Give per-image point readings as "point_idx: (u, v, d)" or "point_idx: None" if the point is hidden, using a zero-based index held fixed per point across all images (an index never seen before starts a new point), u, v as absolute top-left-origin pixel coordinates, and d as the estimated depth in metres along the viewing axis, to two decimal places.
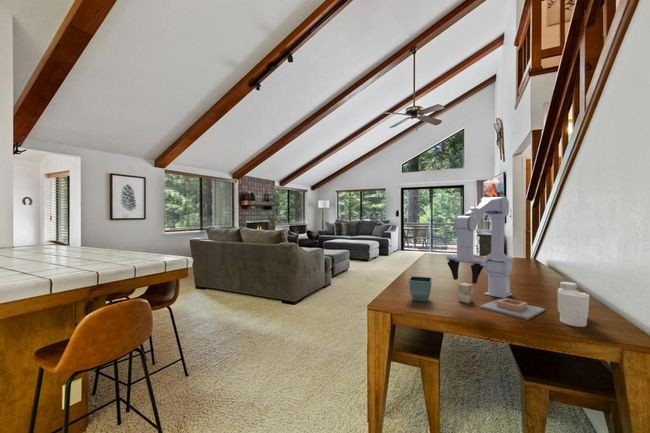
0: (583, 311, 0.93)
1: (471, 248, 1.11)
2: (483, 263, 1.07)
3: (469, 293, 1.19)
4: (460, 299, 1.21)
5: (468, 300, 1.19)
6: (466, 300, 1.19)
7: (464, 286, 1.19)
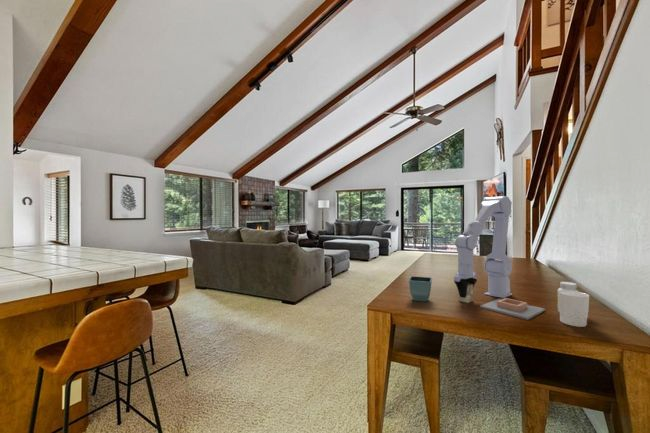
0: (583, 311, 0.93)
1: (460, 265, 1.20)
2: (455, 279, 1.17)
3: (469, 293, 1.19)
4: (460, 299, 1.21)
5: (468, 300, 1.19)
6: (466, 300, 1.19)
7: None
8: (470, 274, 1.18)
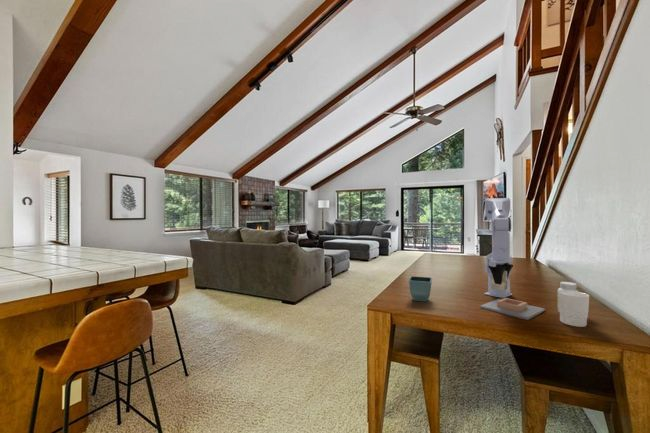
0: (583, 311, 0.93)
1: (496, 249, 1.12)
2: (490, 264, 1.09)
3: (504, 280, 1.11)
4: (494, 287, 1.13)
5: (503, 287, 1.11)
6: (501, 287, 1.11)
7: None
8: (506, 259, 1.10)
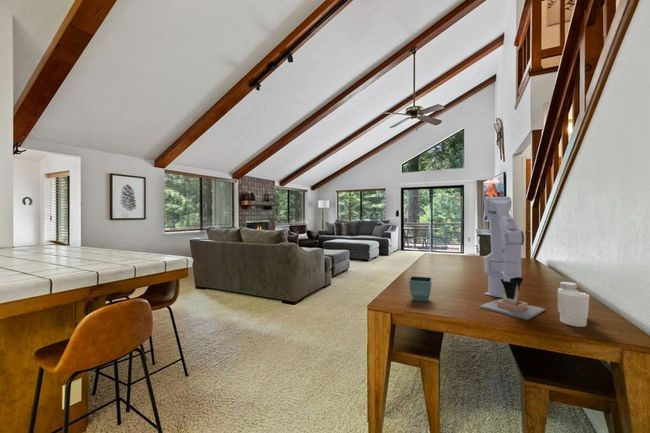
0: (583, 311, 0.93)
1: (508, 263, 1.09)
2: (505, 279, 1.06)
3: (516, 294, 1.09)
4: (505, 301, 1.10)
5: (515, 302, 1.09)
6: (513, 302, 1.08)
7: None
8: (519, 273, 1.08)
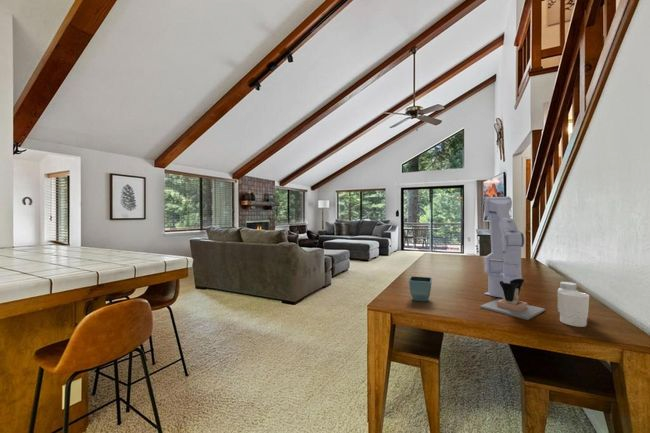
0: (583, 311, 0.93)
1: (508, 265, 1.09)
2: (505, 280, 1.06)
3: (516, 298, 1.09)
4: None
5: None
6: None
7: None
8: (519, 275, 1.08)
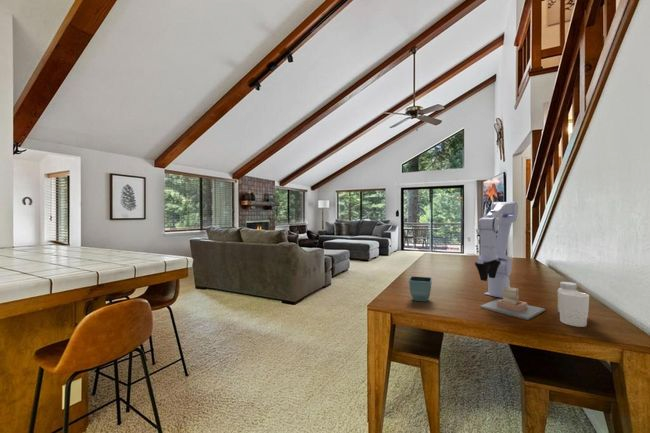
0: (583, 311, 0.93)
1: (483, 247, 1.19)
2: (478, 261, 1.16)
3: (516, 298, 1.09)
4: None
5: None
6: None
7: (511, 291, 1.09)
8: (493, 256, 1.17)
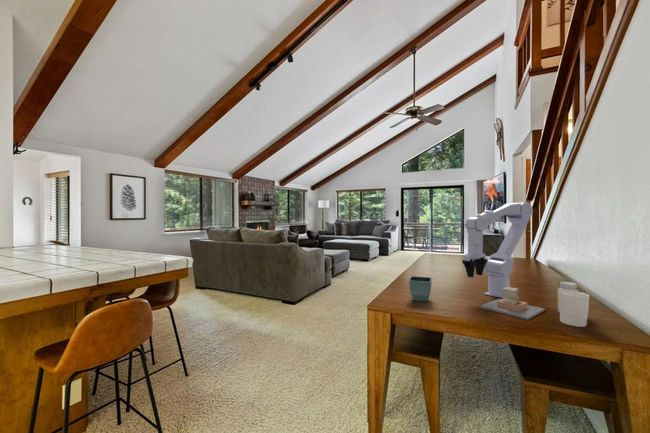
0: (583, 311, 0.93)
1: (470, 246, 1.24)
2: (465, 258, 1.22)
3: (516, 298, 1.09)
4: None
5: None
6: None
7: (511, 291, 1.09)
8: (480, 254, 1.23)
